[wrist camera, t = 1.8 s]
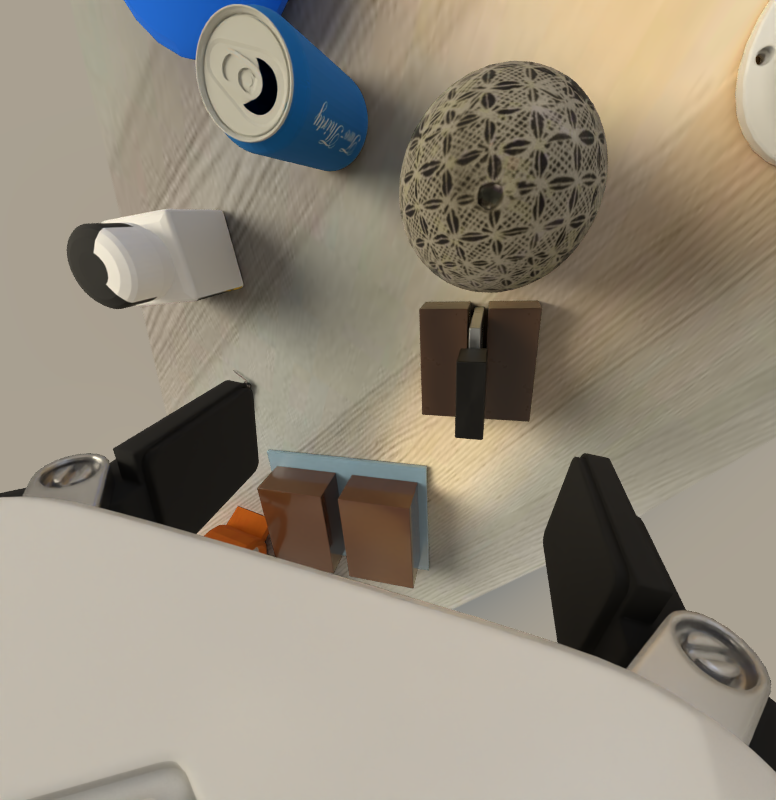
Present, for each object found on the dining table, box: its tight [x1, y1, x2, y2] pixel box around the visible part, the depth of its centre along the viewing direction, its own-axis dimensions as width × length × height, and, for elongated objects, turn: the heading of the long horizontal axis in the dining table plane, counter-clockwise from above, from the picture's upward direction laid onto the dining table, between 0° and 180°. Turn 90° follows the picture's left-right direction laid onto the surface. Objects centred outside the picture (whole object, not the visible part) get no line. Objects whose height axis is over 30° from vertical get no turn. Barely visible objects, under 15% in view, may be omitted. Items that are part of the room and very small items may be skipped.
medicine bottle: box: [67, 209, 243, 309], centre depth 32 cm, size 7×7×12 cm
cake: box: [257, 450, 429, 588], centre depth 46 cm, size 20×16×5 cm
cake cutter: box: [455, 307, 488, 440], centre depth 31 cm, size 2×9×10 cm, turn 4°
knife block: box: [419, 301, 542, 422], centre depth 34 cm, size 10×10×3 cm
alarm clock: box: [204, 506, 269, 554], centre depth 47 cm, size 13×6×20 cm, turn 168°
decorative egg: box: [399, 61, 608, 293], centre depth 23 cm, size 12×12×15 cm
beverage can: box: [196, 4, 368, 171], centre depth 25 cm, size 6×6×12 cm
